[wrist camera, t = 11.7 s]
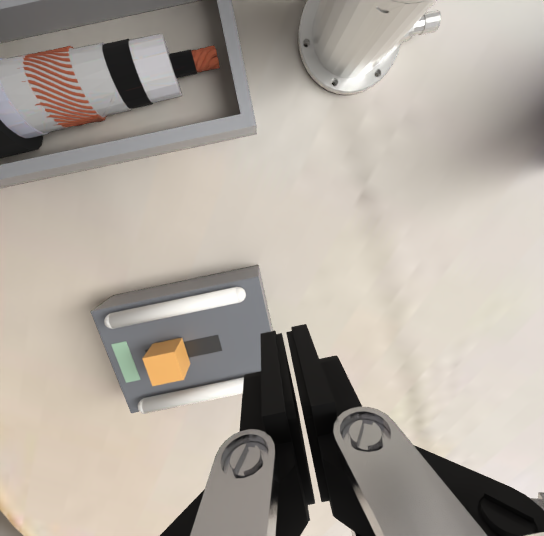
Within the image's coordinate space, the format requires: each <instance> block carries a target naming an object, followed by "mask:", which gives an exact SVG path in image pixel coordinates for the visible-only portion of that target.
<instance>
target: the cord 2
mask: <svg viewBox="0 0 544 536" xmlns="http://www.w3.org/2000/svg"><path fill="white" fill-rule="evenodd" d="M243 382H244V377H243V378H238V379H233V380H228V381H224V382H219V383H214V384H209V385H204V386H199V387H194V388H190V389H185V390H180V391H175V392H170V393H165V394H161V395H156V396H151V397H146V398H143V399H142V400H140V402H139V403H138V410H139V412H141V413H144V414H145V413H150V412H155V411H160V410H165V409H170V408H175V407H179V406H184V405H189V404H194V403H199V402H204V401H208V400H213V399H218V398H223V397H228V396H233V395H238V394H242V393H243Z"/></svg>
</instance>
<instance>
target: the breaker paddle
mask: <svg viewBox="0 0 544 536" xmlns="http://www.w3.org/2000/svg"><path fill="white" fill-rule="evenodd" d="M142 359H143V362H144V365H145V367H146V370H147V373H148V376H149V378H150V381H151V384H152V386H156V385H161V384H166V383H171V382H176V381H181V380H184V378H185V376H186V373H187V371H188V368H189V366H190V361H189V358H188V355H187V351H186V348H185V345H184V342H183V339H182V338H178V339H173V340H168V341H163V342H158V343H154V344H152V345H151V347H150V348H149V350H148V351H147V352H146V354H145V355H144V357H143V358H142Z"/></svg>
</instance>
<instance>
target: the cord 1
mask: <svg viewBox="0 0 544 536" xmlns="http://www.w3.org/2000/svg"><path fill="white" fill-rule="evenodd" d="M245 297H246V293H245V290H244V289H243V288H241V287H234V288H229V289H224V290H219V291H214V292H210V293H205V294H200V295H195V296H190V297H186V298H181V299H176V300H171V301H166V302H162V303H157V304H152V305H147V306H142V307H138V308H133V309H128V310H123V311H118V312H114V313H110V314H108V315H107V316H106V317H105V320H104V323H105V325H106V326H107V327H108V328H111V329H115V328H120V327H124V326H129V325H134V324H139V323H144V322H148V321H153V320H158V319H163V318H168V317H172V316H177V315H182V314H187V313H192V312H196V311H201V310H206V309H211V308H216V307H221V306H225V305H230V304H235V303H240V302H242V301H243V300H244V299H245Z"/></svg>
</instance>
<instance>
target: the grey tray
mask: <svg viewBox="0 0 544 536" xmlns="http://www.w3.org/2000/svg"><path fill="white" fill-rule="evenodd" d="M195 1H200V0H0V43H4V42H8V41H13V40H18V39H22V38H27V37H32V36H36V35H41V34H46V33H50V32H55V31H60V30H64V29H69V28H74V27H78V26H83V25H88V24H92V23H97V22H102V21H106V20H111V19H116V18H120V17H125V16H130V15H134V14H139V13H144V12H148V11H153V10H158V9H162V8H167V7H172V6H177V5H181V4H186V3H191V2H195ZM217 4H218V8H219V13H220V18H221V23H222V27H223V32H224V37H225V42H226V47H227V51H228V56H229V61H230V66H231V70H232V75H233V80H234V85H235V90H236V94H237V99H238V104H239V109H240V113H241V114H238V115H234V116H229V117H224V118H219V119H215V120H210V121H205V122H200V123H196V124H191V125H186V126H182V127H177V128H172V129H167V130H163V131H158V132H153V133H149V134H144V135H139V136H134V137H130V138H125V139H120V140H115V141H111V142H106V143H101V144H97V145H92V146H87V147H82V148H78V149H73V150H68V151H63V152H59V153H54V154H49V155H45V156H40V157H35V158H30V159H26V160H21V161H16V162H11V163H7V164H2V165H0V188H4V187H8V186H13V185H18V184H23V183H27V182H32V181H37V180H41V179H46V178H51V177H56V176H60V175H65V174H70V173H75V172H79V171H84V170H89V169H94V168H98V167H103V166H108V165H112V164H117V163H122V162H127V161H131V160H136V159H141V158H146V157H150V156H155V155H160V154H165V153H169V152H174V151H179V150H184V149H188V148H193V147H198V146H202V145H207V144H212V143H217V142H221V141H226V140H231V139H236V138H240V137H245V136H250V135H255V134H257V133H256V121H255V116H254V111H253V106H252V101H251V96H250V91H249V86H248V81H247V76H246V71H245V66H244V61H243V56H242V51H241V46H240V41H239V36H238V31H237V25H236V20H235V15H234V10H233V5H232V0H217Z"/></svg>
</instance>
